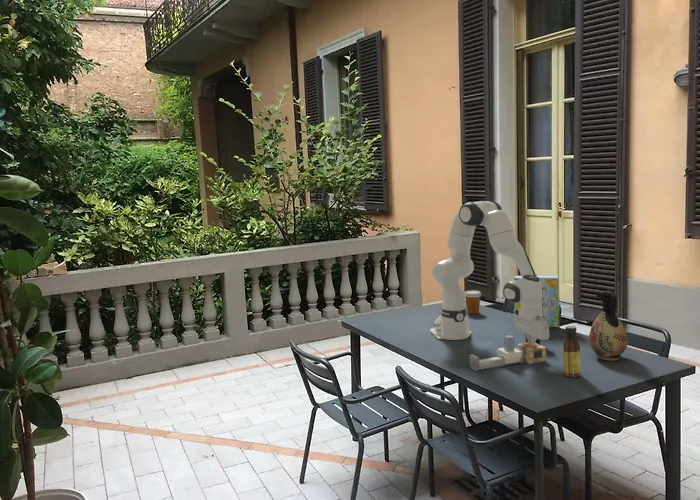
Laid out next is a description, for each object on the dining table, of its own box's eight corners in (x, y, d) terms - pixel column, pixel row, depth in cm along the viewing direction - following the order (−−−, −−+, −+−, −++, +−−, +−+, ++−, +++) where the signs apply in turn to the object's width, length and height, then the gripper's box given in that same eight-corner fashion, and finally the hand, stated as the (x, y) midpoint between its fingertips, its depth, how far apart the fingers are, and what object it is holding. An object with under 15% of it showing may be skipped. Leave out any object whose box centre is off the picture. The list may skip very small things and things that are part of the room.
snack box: (558, 323, 315) (558, 274, 311) (559, 328, 306) (559, 278, 302) (514, 322, 320) (514, 274, 316) (514, 327, 312) (514, 277, 308)
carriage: (496, 358, 262) (496, 335, 260) (510, 356, 264) (510, 332, 262) (507, 364, 254) (507, 340, 252) (521, 361, 256) (521, 337, 255)
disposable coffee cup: (471, 309, 350) (471, 289, 348) (485, 312, 343) (484, 291, 341) (460, 313, 344) (460, 292, 342) (474, 315, 337) (474, 294, 335)
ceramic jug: (582, 353, 268) (582, 286, 263) (616, 350, 269) (617, 284, 264) (600, 365, 251) (601, 294, 246) (636, 363, 252) (638, 292, 247)
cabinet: (517, 357, 266) (517, 344, 265) (532, 354, 268) (532, 341, 267) (530, 363, 257) (530, 350, 256) (545, 361, 259) (546, 347, 259)
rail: (470, 367, 256) (469, 354, 255) (516, 359, 263) (516, 347, 262) (476, 371, 251) (476, 358, 250) (523, 362, 258) (523, 350, 258)
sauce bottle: (583, 374, 242) (583, 326, 239) (576, 379, 237) (577, 330, 234) (566, 371, 246) (567, 323, 243) (560, 375, 242) (560, 327, 239)
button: (525, 355, 263) (525, 344, 263) (532, 354, 264) (532, 343, 264) (530, 357, 260) (530, 346, 260) (536, 356, 261) (536, 345, 261)
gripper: (553, 318, 251) (553, 350, 253) (523, 307, 270) (523, 337, 272) (540, 320, 249) (540, 352, 251) (511, 309, 268) (511, 339, 270)
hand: (531, 344), depth 262 cm, fingers closed, pressing on button
